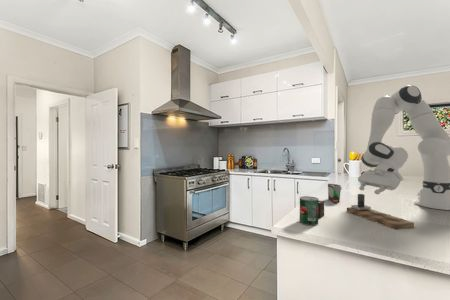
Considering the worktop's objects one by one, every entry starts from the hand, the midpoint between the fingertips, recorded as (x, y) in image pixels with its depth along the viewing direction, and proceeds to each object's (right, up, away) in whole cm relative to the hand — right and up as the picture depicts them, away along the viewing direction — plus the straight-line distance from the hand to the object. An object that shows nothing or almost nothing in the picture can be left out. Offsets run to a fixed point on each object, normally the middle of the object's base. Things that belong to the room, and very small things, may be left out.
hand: (368, 191), depth 115 cm
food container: (-6, -11, +22) cm, 25 cm away
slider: (-5, -8, -2) cm, 10 cm away
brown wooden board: (-3, -11, -11) cm, 16 cm away
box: (-30, -11, -7) cm, 33 cm away
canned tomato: (-37, -11, -16) cm, 42 cm away
